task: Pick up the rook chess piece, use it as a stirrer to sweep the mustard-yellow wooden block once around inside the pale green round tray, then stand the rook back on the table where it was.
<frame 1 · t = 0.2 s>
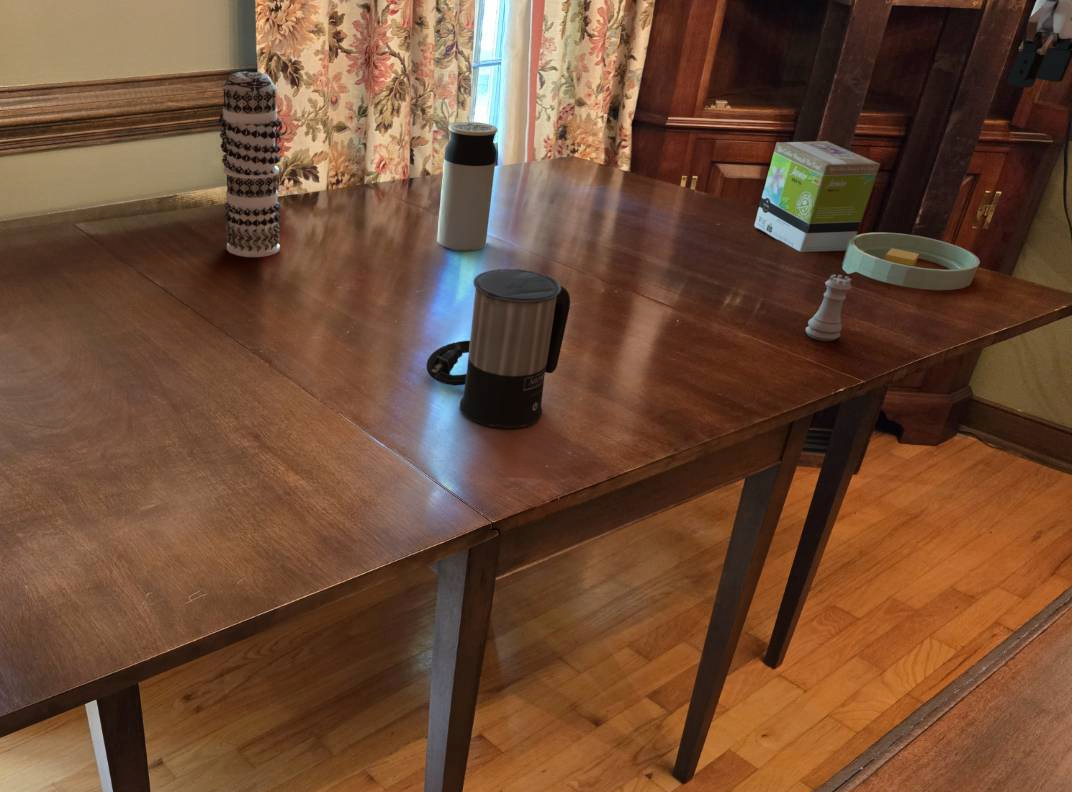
hand: (1034, 83, 132), 29 cm above the table, tool pointing down, fingers open, 9 cm apart
pale green round tray: (902, 279, 150), on the table
milk frother: (479, 397, 111), on the table
decorative block: (893, 279, 148), point 1 cm above the table, touching pale green round tray
decorative candle: (253, 249, 151), on the table
travel mug: (461, 245, 157), on the table
tea box: (799, 241, 165), on the table
rook chess piece: (821, 336, 130), on the table
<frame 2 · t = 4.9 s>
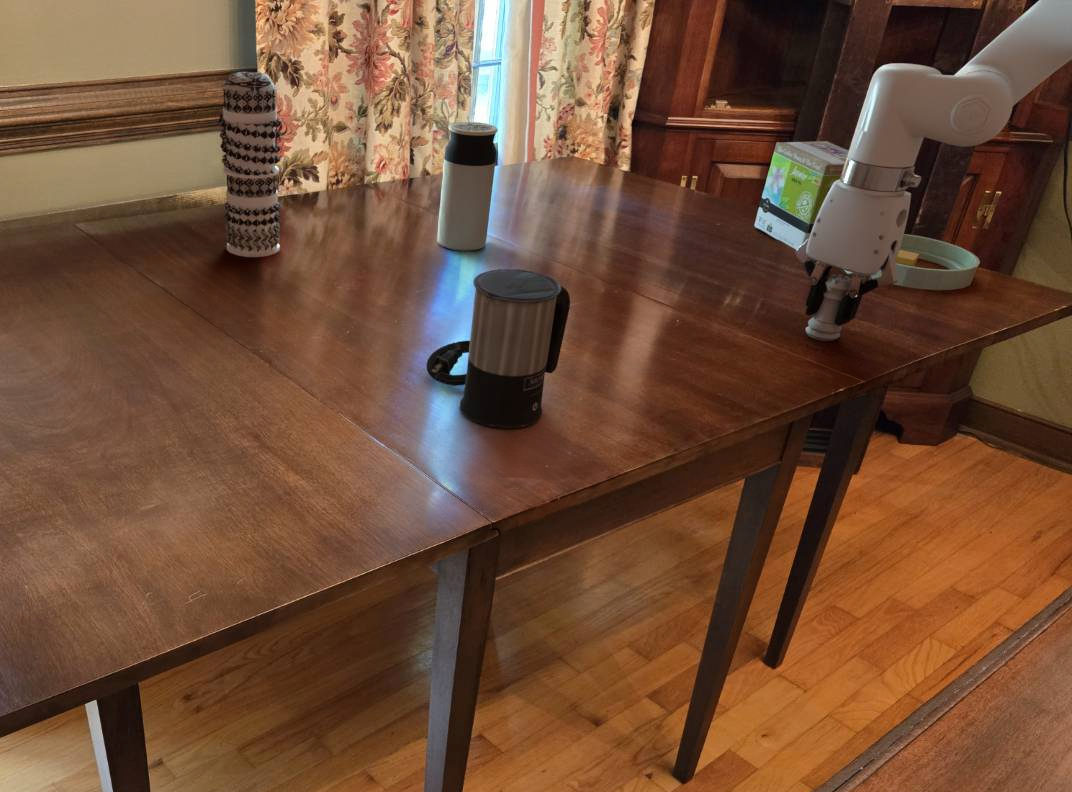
hand: (827, 316, 128), 3 cm above the table, tool pointing down, fingers closed on rook chess piece, 3 cm apart
rook chess piece: (821, 336, 130), on the table, touching gripper
everything else where it was.
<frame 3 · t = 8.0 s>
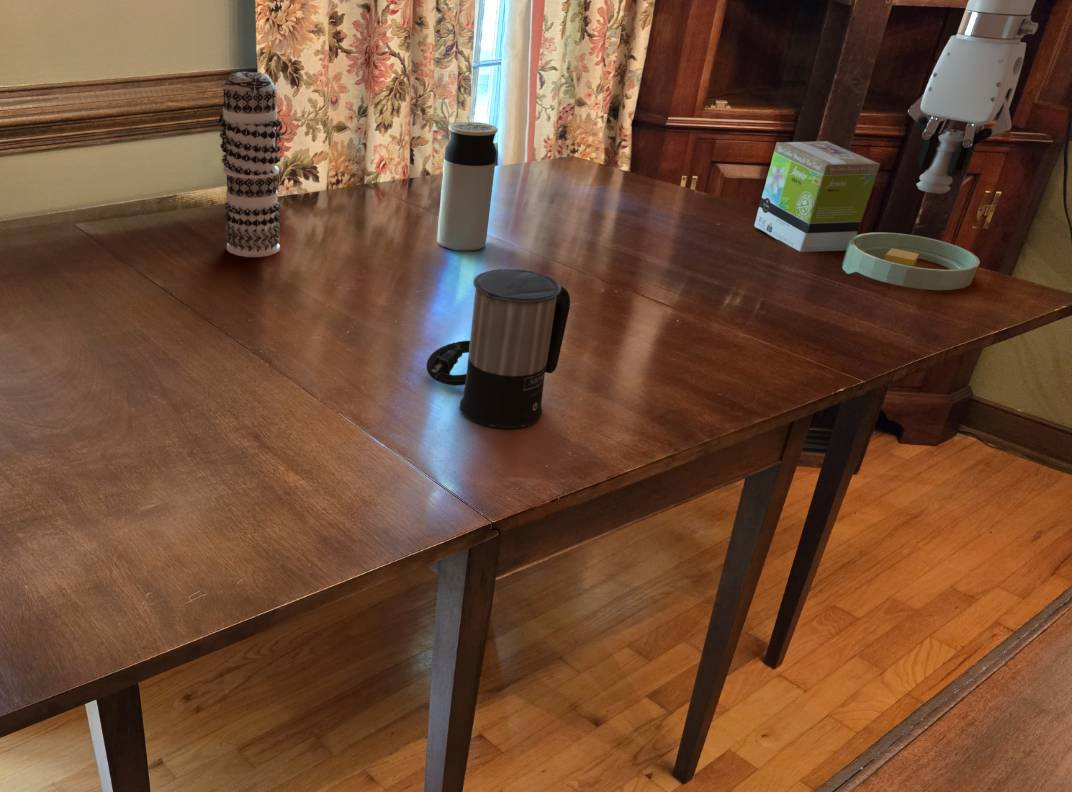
hand: (939, 170, 137), 17 cm above the table, tool pointing down, fingers closed on rook chess piece, 3 cm apart
rook chess piece: (931, 191, 139), point 14 cm above the table, touching gripper
everything else where it was.
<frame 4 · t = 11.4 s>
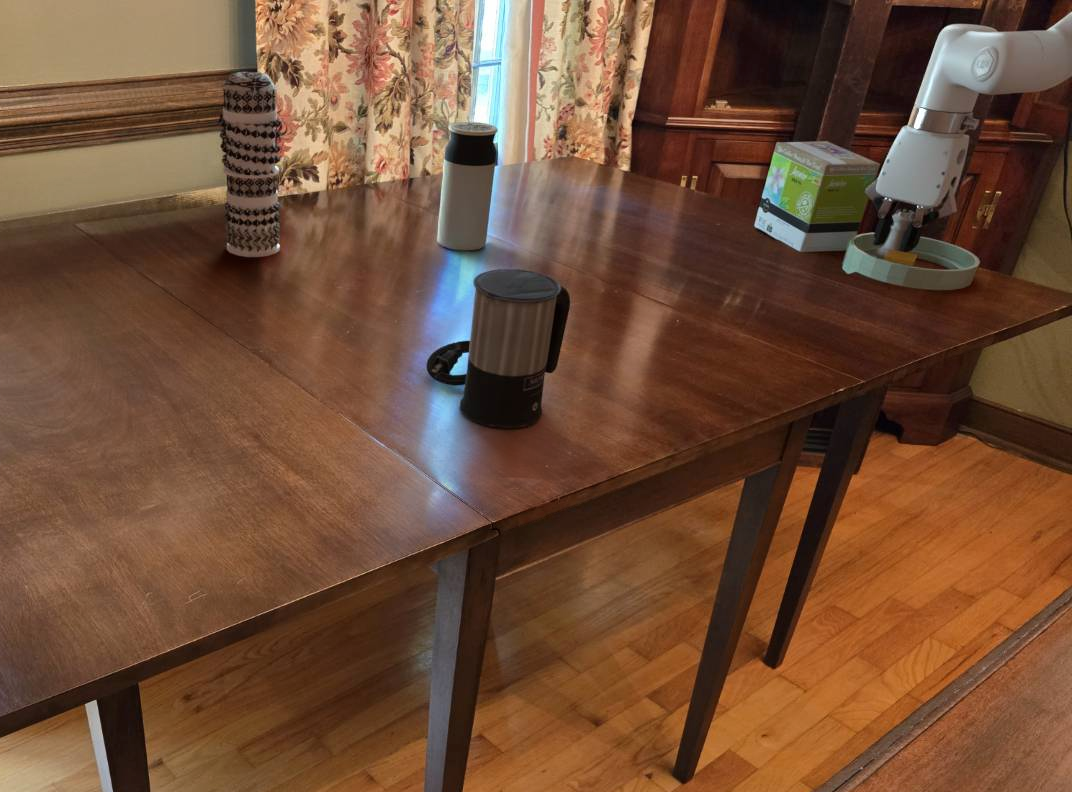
hand: (893, 246, 149), 5 cm above the table, tool pointing down, fingers closed on rook chess piece, 3 cm apart
decorative block: (892, 280, 148), point 1 cm above the table, touching pale green round tray, gripper
rook chess piece: (886, 264, 151), point 2 cm above the table, touching gripper
everything else where it was.
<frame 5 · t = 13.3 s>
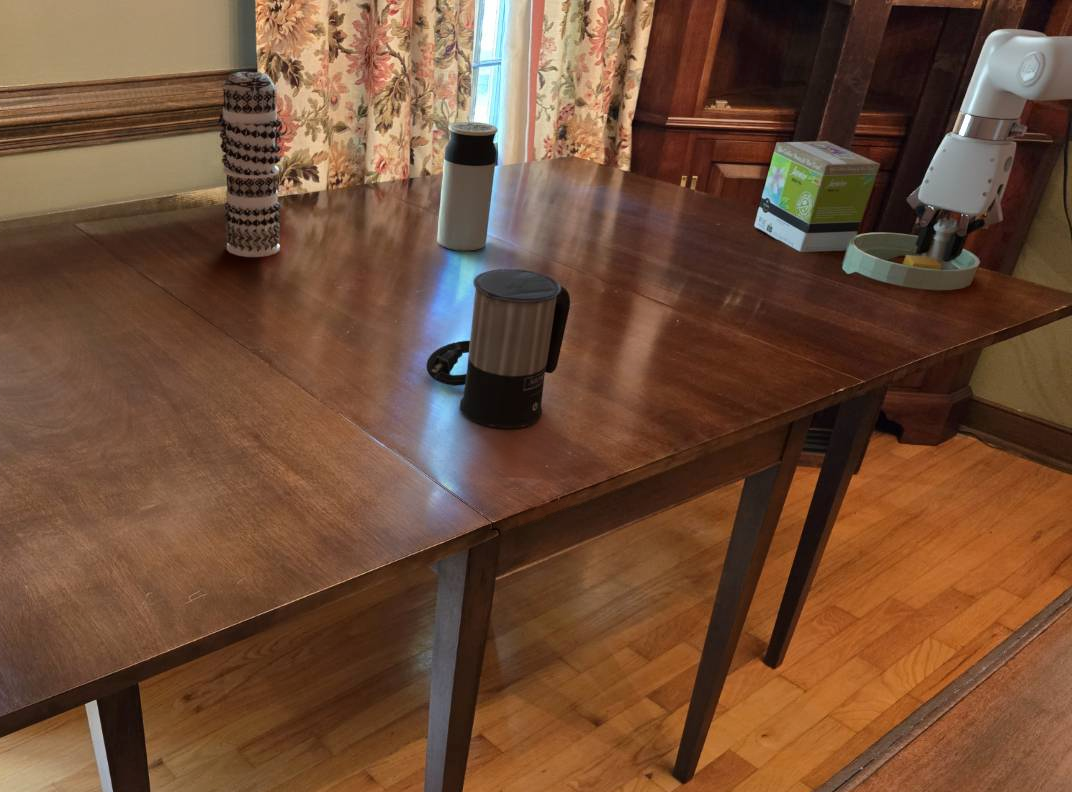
hand: (935, 255, 146), 5 cm above the table, tool pointing down, fingers closed on rook chess piece, 3 cm apart
decorative block: (914, 286, 146), point 1 cm above the table, touching pale green round tray
rook chess piece: (932, 270, 149), point 2 cm above the table, touching gripper
everything else where it was.
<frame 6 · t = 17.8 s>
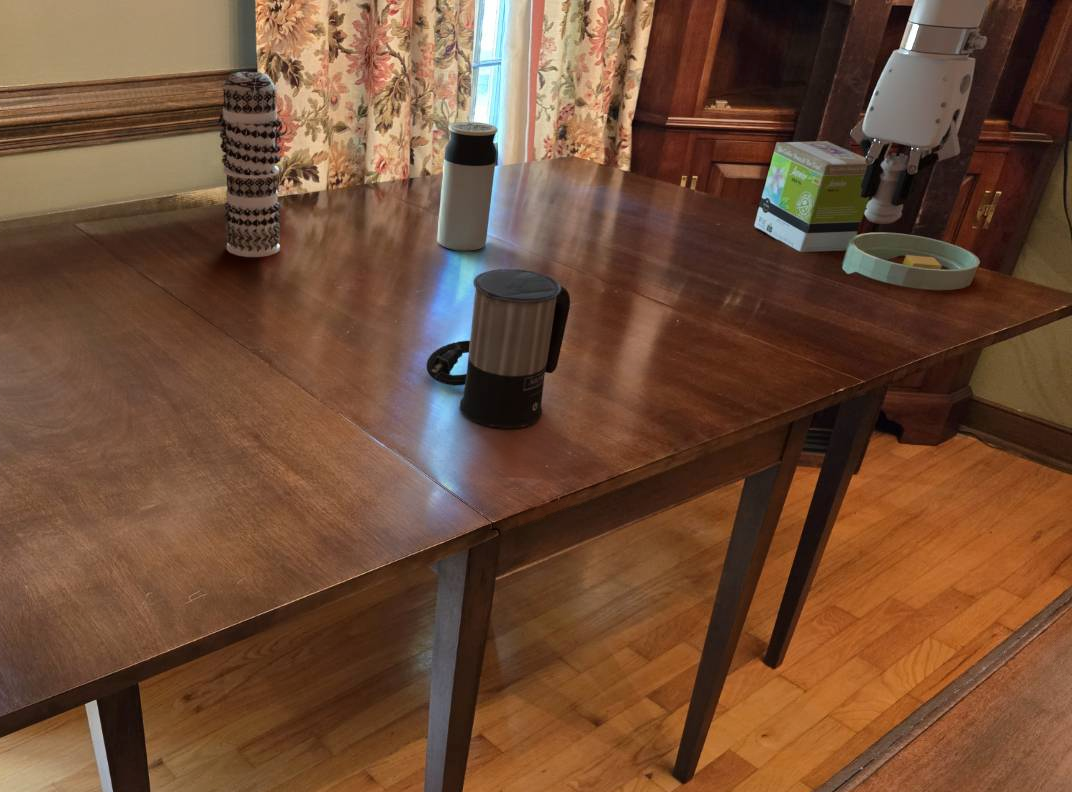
hand: (884, 198, 124), 17 cm above the table, tool pointing down, fingers closed on rook chess piece, 3 cm apart
rook chess piece: (881, 218, 126), point 14 cm above the table, touching gripper
everything else where it was.
when the fingers open (3 cm above the table, at t = 21.8 s): rook chess piece stays where it is, on the table.
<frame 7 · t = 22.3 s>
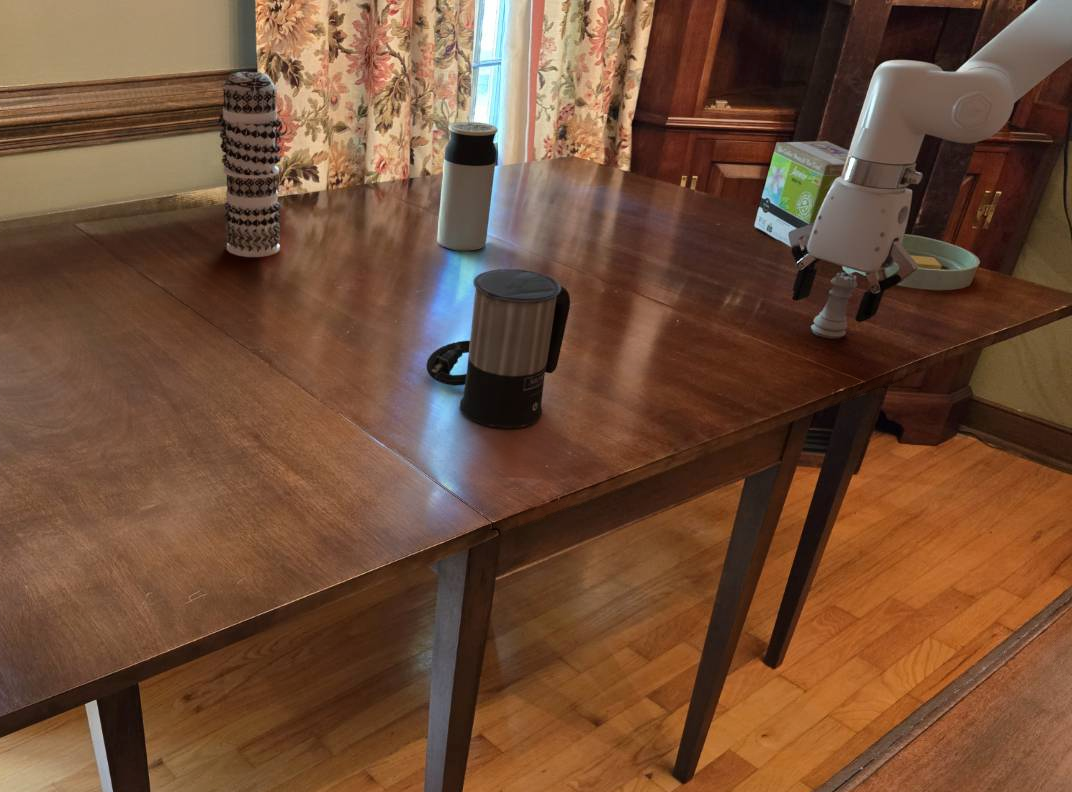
hand: (831, 308, 128), 4 cm above the table, tool pointing down, fingers open, 8 cm apart
rook chess piece: (826, 334, 131), on the table
everything else where it was.
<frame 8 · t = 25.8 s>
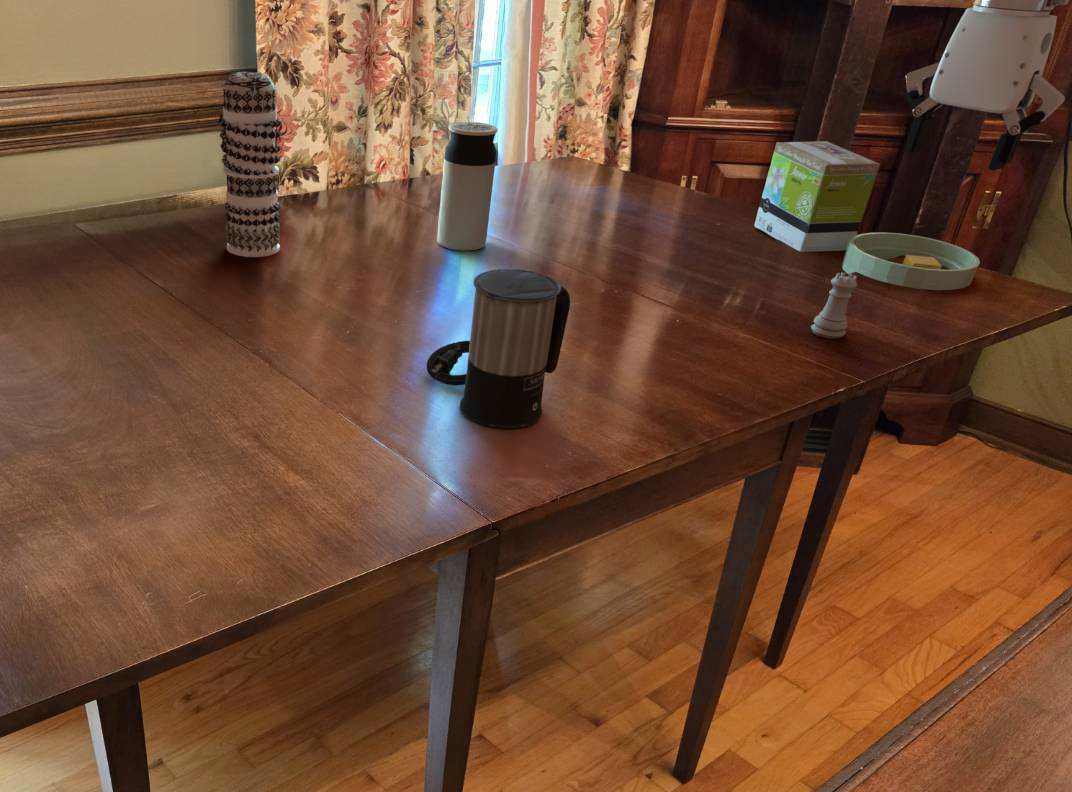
hand: (954, 159, 116), 23 cm above the table, tool pointing down, fingers open, 9 cm apart
nothing on the table moved.
at the end: decorative block moved 3.3 cm from its start; decorative block inside the target area in the pale green round tray (4.9 cm from its centre), point 0.6 cm above the pale green round tray's base; rook chess piece inside the target area (1.4 cm from its centre), on the table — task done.
